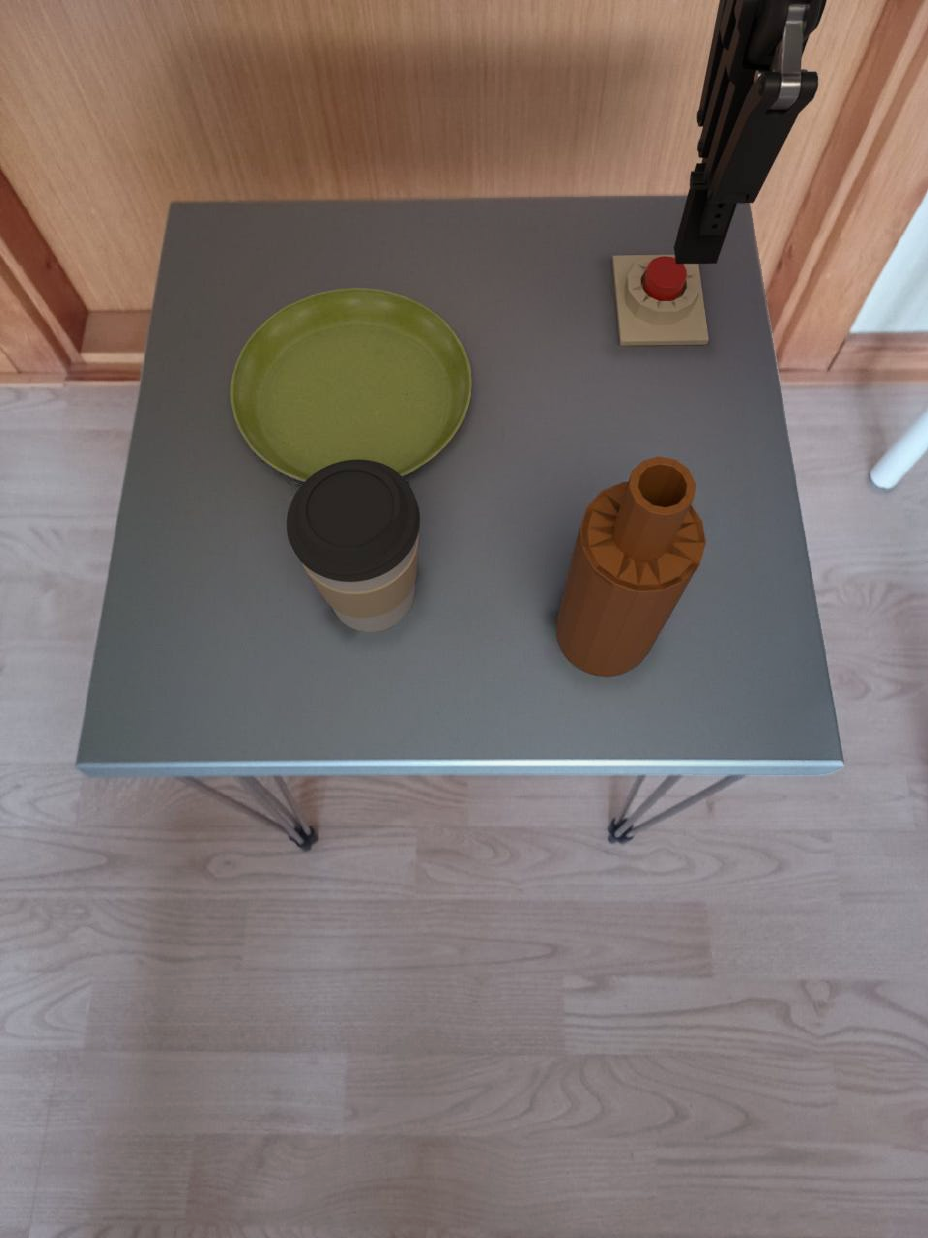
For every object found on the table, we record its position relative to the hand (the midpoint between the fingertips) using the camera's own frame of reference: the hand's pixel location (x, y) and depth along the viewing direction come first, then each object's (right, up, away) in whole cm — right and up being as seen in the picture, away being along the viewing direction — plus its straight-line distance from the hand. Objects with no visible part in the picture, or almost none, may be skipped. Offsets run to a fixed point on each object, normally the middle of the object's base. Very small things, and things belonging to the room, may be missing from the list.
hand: (695, 255), depth 58 cm
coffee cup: (-23, -22, +13) cm, 34 cm away
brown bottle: (-4, -25, +12) cm, 28 cm away
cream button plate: (+3, +6, +24) cm, 24 cm away
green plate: (-25, -5, +20) cm, 32 cm away
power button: (+3, +6, +22) cm, 23 cm away
